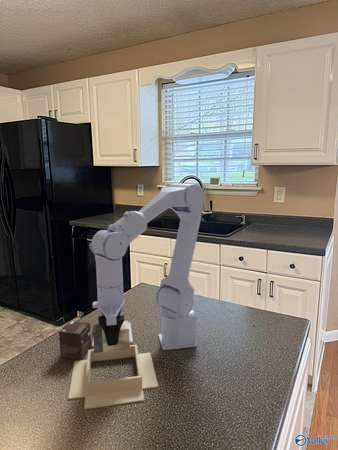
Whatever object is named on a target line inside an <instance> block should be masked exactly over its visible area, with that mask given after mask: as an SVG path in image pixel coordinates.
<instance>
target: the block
mask: <svg viewBox="0 0 338 450" xmlns="http://www.w3.org/2000/svg"><path fill="white" fill-rule="evenodd" d="M128 323H129V320H124V322H123V324H122V326H121V328H120V333H119V339H118V344H117V345H112V346H108V344H107V341H106V337H105V333H104V331H103V329H102V327H101V326H100V324H99V322H98V323H93V328H92V343H94V347H93V349H94V353H99V352H108V351H116V350H125V349H130V345H131V343H130V340H129V324H128Z"/></svg>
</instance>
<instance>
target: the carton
mask: <svg viewBox="0 0 338 450" xmlns="http://www.w3.org/2000/svg"><path fill="white" fill-rule="evenodd" d="M138 350H139V349H138V344H130V349H125V350H116V351H108V352H99V353H94V348H91V349H90V350H88V353H87V359H82V360H75V361H73V367H72V373H71V379H70V380H71V381H70V385H69V392H68V398H67V399H68V400H75V399H82V398H84V404H83V405H84V406H83V407H84V408H83V409H84V410H90V409H96V408H103V407H104V408H105V407H110V406H117V405H123V404H124V405H125V404H130V403H138V402H144V401H145V396H144V391H143V390H148V389H156V388H159V384H158V380H157V376H156V370H155V367H154V362H153V359H152V358H153V357H152V355H151V352H143V353H139V351H138ZM125 358H135V359H134V360H135V364H136V365H135V366H136V373H137V375H134V376H127V377H119V378H113V379H105V380H104V379H103V380H96V381H91V369H92V367H91V366H92V362H93V363H94V362H102V361H109V360H118V359H125Z"/></svg>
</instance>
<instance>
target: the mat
mask: <svg viewBox="0 0 338 450" xmlns="http://www.w3.org/2000/svg"><path fill="white" fill-rule="evenodd" d="M128 324H129V340H130V344H133V343H134V340H133V333H132V332H133V331H132V325H131V322H130V321H128ZM91 349H94V343H93V342H91Z"/></svg>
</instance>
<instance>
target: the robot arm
mask: <svg viewBox="0 0 338 450" xmlns="http://www.w3.org/2000/svg"><path fill="white" fill-rule="evenodd" d="M205 199H206V194H205V193H204V190H203V188H202V186H201V185H199V184H197V183H177V182H169V183H167V184H166V185H165V186H163V187H161V188H160V191H159V193H157V194H156V195H155V196H154V197H152V199H150V201H148V202H147V203H146V204H145V205H144V206H143V207H142V208H141V209H139V210H138V211H136V210H130V211H125V212H124V213H123V216H122V217H121V218H120V219H118V220H117V221H115V222H114V223H111V224H109V225H108V226H107V229H101V230H99V231H97V232H96V233H95V234H94V235H93V237H92V239H91V242H90V243H89V249H90V251H91V252H92V253H93V255H94V260H95V271H96V275H95V276H96V288H97V291H96V293H97V301H96V300H95V301H93V302H92V308H93V309H98V310H99V312H100V313H101V315H98V319H97V321H98V323H99V324H100V326H101V327H102V329H103V331H104V333H105V337H106V341H107V344H108V346H112V345H117V344H118V339H119V333H120V328H121V326H122V324H123V322H124V321H125V314H124V315H123V314H122V315H121V313H122V311H123V308H124V306H125V300H124V278H123V277H124V275H123V274H124V273H123V257H124V256H125V254H126V253H127V250H128V248H129V246H130V244H131V243H133V241H134V240H136V239H137V238H138V237H140V236H141V235H142V234H143V233H144V232H145V231H146V230H147V228H148V223H150V221H152V220H154V219H155V218H156V217H158V216H159V215H160V214H162V213H164V212H165V211H167V210H168V209H169V208H170V209H171V210H172V211H174V213H175V214H176V215H177V216H178V218H179V227H178V230H177V234H176V235H177V236H176V238H175V244H174V249H173V252H172V258H171V264H170V267H169V271H168V272H169V273H168V275H167V276H166V277H164V278H162V279H161V280H160V284H159V286H158V289H157V290H156V292H155V297H154V298H155V299H154V300H155V304H156V305H158V307H159V311H161V312H160V313H161V316H160V317H161V321H160V322H161V325H160V326H161V333H159V334H158V338H159V342H160V346H161V349H162V350H163V351H168V350H169V351H170V350H171V351H172V350H179V349H188V348H196V347H197V346H198V344H197V317H196V313H195V311H194V309H193V308H194V305H195V298H194V294H195V288H194V286H193V285H192V283H191V282H190V279H189V277H190V272H191V268H192V263H193V257H194V254H195V253H194V252H195V248H196V243H197V239H198V233H199V229H200V224H201V220H202V214H203V207H204V203H205Z"/></svg>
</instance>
